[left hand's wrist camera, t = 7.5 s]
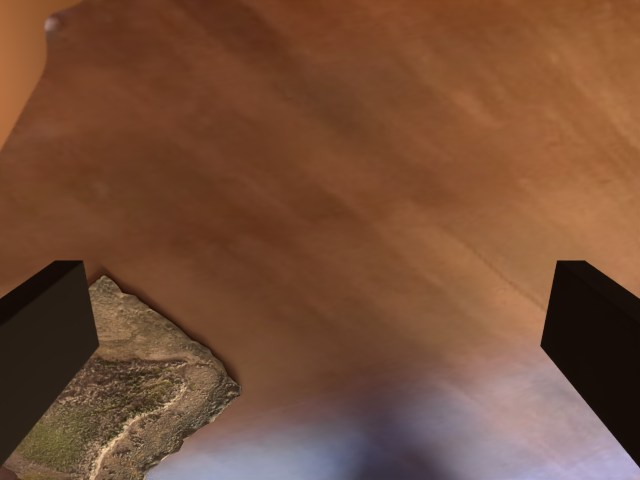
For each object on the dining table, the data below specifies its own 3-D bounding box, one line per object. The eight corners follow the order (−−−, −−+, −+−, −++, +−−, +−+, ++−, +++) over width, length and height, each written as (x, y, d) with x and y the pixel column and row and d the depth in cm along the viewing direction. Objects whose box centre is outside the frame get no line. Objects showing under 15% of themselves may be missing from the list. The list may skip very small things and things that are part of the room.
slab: (105, 523, 54) (101, 531, 53) (-49, 435, 49) (-56, 442, 48) (254, 381, 47) (253, 387, 46) (89, 262, 42) (84, 266, 41)
